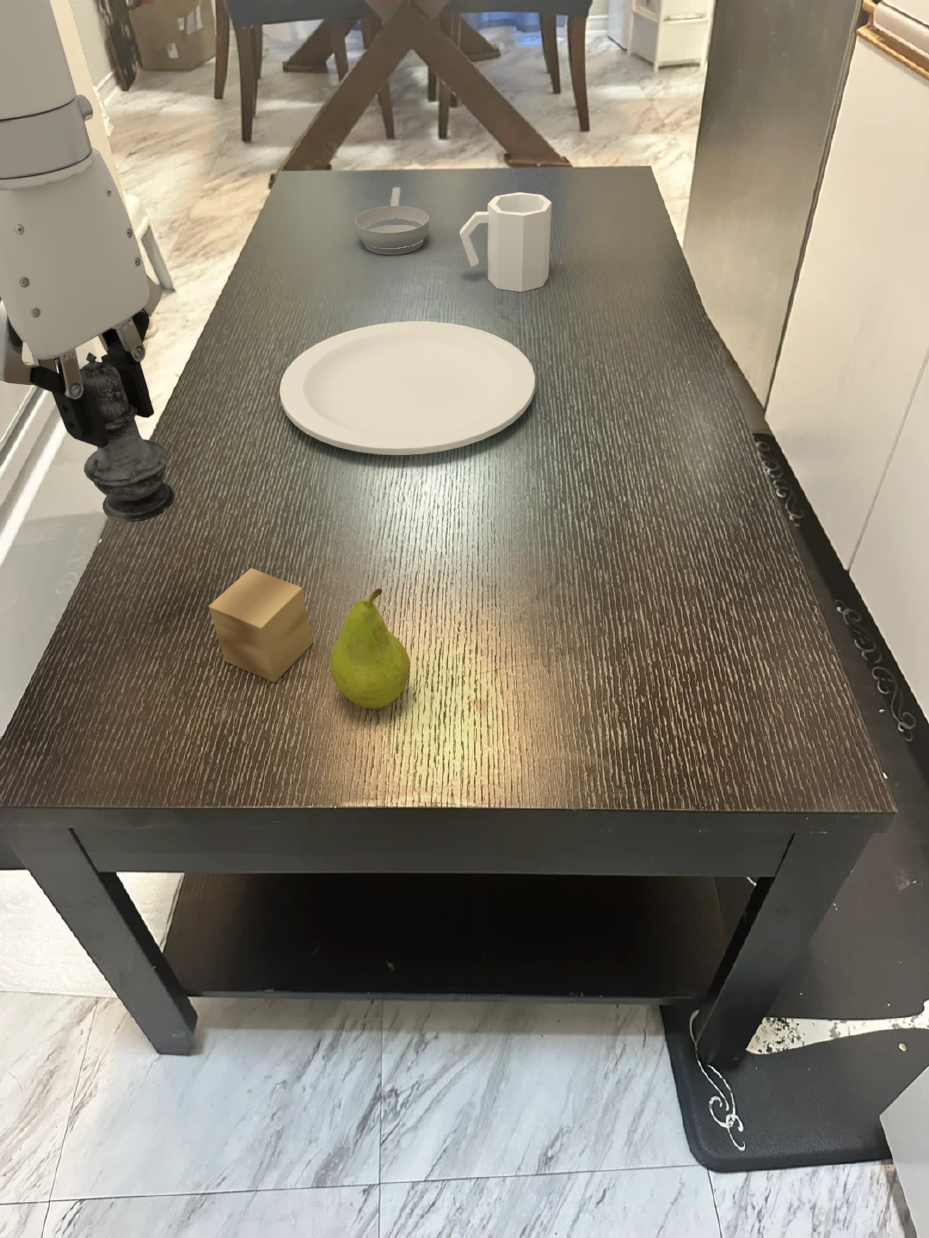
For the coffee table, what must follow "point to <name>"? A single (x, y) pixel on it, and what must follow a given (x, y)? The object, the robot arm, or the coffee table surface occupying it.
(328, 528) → the coffee table surface
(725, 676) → the coffee table surface
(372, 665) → the fruit
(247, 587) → the maple block
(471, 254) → the mug
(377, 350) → the plate
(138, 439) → the grey chess bishop
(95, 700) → the coffee table surface
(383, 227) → the small pan
